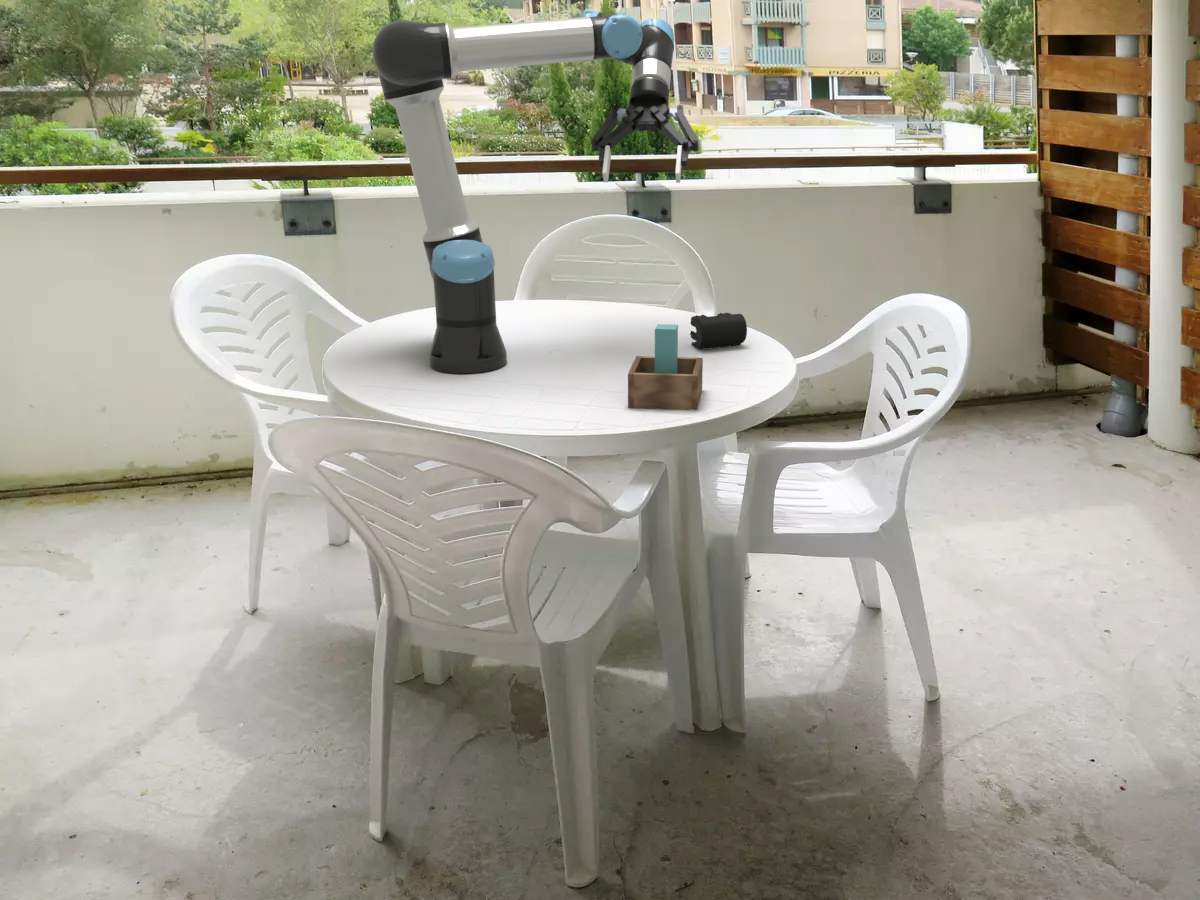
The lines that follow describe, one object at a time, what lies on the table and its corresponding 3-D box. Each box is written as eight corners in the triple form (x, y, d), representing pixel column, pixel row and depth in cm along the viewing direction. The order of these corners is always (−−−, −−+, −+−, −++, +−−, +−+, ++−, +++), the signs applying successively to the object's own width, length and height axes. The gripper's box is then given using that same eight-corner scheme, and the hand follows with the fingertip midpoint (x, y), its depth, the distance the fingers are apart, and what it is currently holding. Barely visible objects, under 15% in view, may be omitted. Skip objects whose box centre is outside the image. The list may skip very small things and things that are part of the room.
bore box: (628, 407, 203) (627, 374, 201) (636, 387, 214) (636, 356, 212) (697, 409, 201) (697, 376, 199) (702, 389, 212) (702, 357, 210)
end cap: (701, 353, 236) (702, 321, 234) (688, 345, 243) (688, 313, 240) (747, 349, 239) (747, 316, 237) (732, 341, 246) (733, 309, 243)
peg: (654, 401, 206) (654, 329, 202) (657, 395, 209) (657, 324, 205) (675, 401, 206) (675, 329, 201) (677, 395, 209) (677, 324, 205)
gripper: (715, 102, 228) (709, 190, 219) (589, 103, 232) (577, 190, 223) (714, 75, 221) (707, 164, 212) (584, 76, 225) (572, 164, 216)
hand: (641, 178), depth 218 cm, fingers open, 13 cm apart
